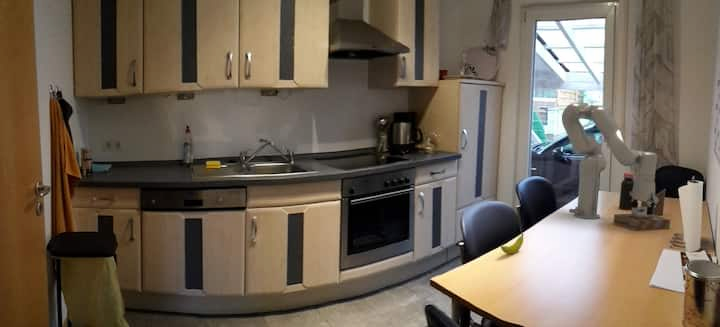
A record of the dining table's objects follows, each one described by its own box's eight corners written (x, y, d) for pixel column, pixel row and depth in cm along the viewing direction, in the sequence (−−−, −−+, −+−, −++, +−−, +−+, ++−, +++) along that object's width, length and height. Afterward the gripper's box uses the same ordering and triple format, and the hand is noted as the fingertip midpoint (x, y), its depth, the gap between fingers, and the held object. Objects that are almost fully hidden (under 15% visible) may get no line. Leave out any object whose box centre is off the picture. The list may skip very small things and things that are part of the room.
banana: (496, 258, 204) (497, 242, 203) (518, 248, 218) (519, 233, 217) (503, 260, 202) (504, 243, 201) (525, 249, 216) (526, 234, 215)
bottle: (634, 210, 294) (637, 174, 291) (620, 209, 296) (624, 174, 293) (630, 208, 301) (633, 173, 298) (617, 207, 302) (620, 172, 299)
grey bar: (636, 225, 257) (638, 209, 256) (630, 223, 261) (632, 207, 260) (652, 224, 259) (653, 208, 258) (645, 222, 263) (647, 206, 262)
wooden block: (662, 215, 284) (665, 182, 281) (639, 212, 290) (642, 180, 287) (662, 214, 287) (666, 181, 284) (640, 211, 293) (643, 179, 290)
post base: (634, 230, 251) (635, 221, 250) (613, 223, 264) (614, 214, 264) (669, 228, 256) (670, 219, 255) (646, 221, 269) (647, 212, 269)
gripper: (626, 174, 264) (622, 208, 267) (653, 181, 248) (649, 216, 250) (638, 174, 266) (634, 208, 269) (666, 180, 250) (662, 216, 252)
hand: (641, 212), depth 259 cm, fingers open, 9 cm apart
